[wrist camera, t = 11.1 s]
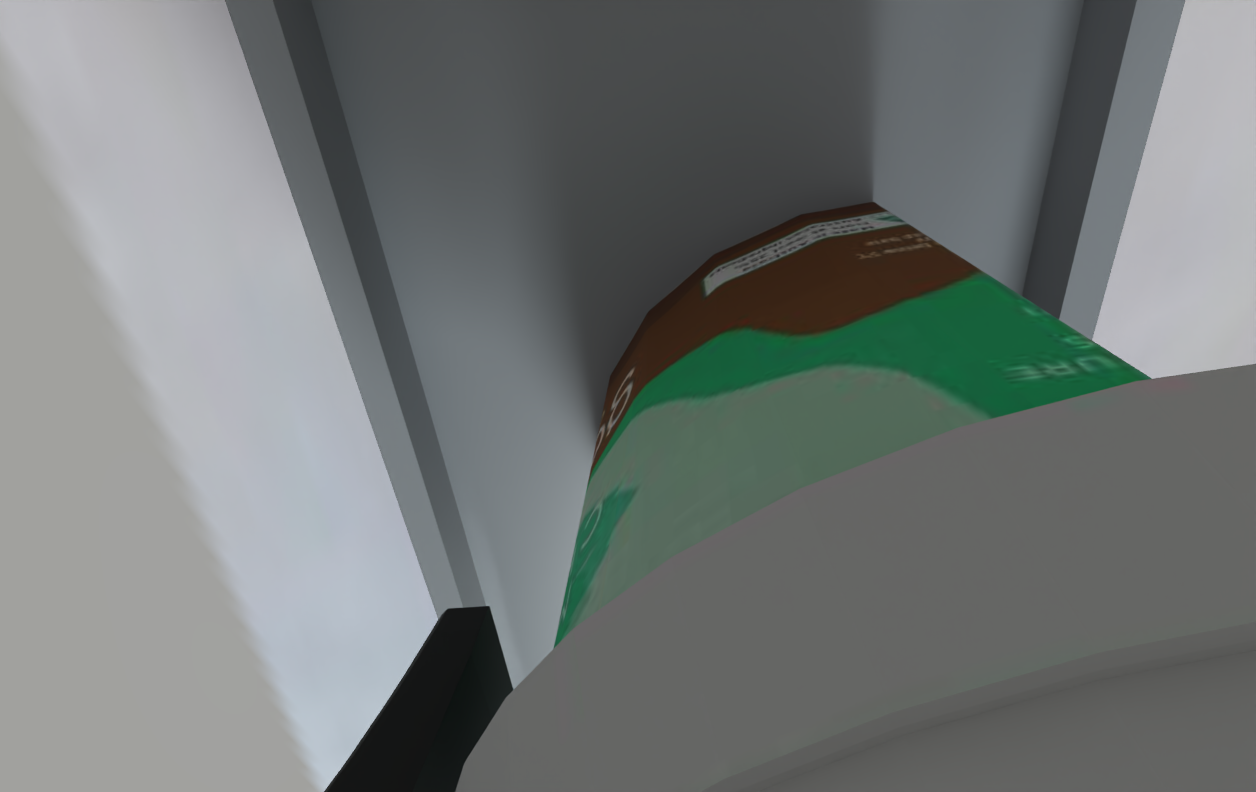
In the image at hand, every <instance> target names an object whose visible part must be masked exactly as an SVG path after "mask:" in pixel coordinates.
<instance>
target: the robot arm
mask: <svg viewBox="0 0 1256 792" xmlns="http://www.w3.org/2000/svg"><path fill="white" fill-rule="evenodd" d="M512 691H513V686H512V683H511V679H510V676H509V672H508V669H507V665H506V662H505V658H504V655H503V651H502V648H501V644H500V641H499V637H498V634H497V630H496V627H495V623H494V620H493V616H492V613H491V609H490V606H479V607H464V608H448V609H447V610H446V611H445V612H444V613H443V614H442V615H441V616H440V618H439V620H438V621H437V623H436V625H435V626H434V628H433V630H432V631H431V633H430V634H429V636H428V638H427V639H426V641H425V643H424V644H423V646H422V648H421V649H420V651H419V652H418V654H417V656H416V657H415V659H414V660H413V662H412V664H411V665H410V667H409V668H408V670H407V672H406V673H405V675H404V676H403V678H402V679H401V681H400V682H399V684H398V686H397V687H396V689H395V690H394V692H393V693H392V695H391V696H390V698H389V700H388V701H387V703H386V704H385V706H384V707H383V709H382V710H381V711H380V713H379V714H378V716H377V717H376V719H375V720H374V722H373V723H372V725H371V726H370V728H369V729H368V731H367V732H366V734H365V735H364V737H363V738H362V739H361V741H360V742H359V744H358V745H357V747H356V748H355V750H354V751H353V753H352V754H351V756H350V757H349V758H348V760H347V761H346V763H345V764H344V765H343V767H342V768H341V770H340V771H339V772H338V774H337V775H336V776H335V778H334V779H333V780H332V782H331V783H330V785H329V786H328V787H327V789H326V790H325V791H324V792H455V791H456V788H457V785H458V781H459V778H460V775H461V772H462V769H463V766H464V763H465V761H466V760H467V758H468V756H469V755H470V753H471V752H472V750H473V749H474V747H475V745H476V744H477V742H478V741H479V739H480V738H481V736H482V734H483V733H484V731H485V730H486V728H487V727H488V725H489V723H490V722H491V720H492V719H493V717H494V716H495V714H496V712H497V711H498V709H499V708H500V706H501V705H502V703H503V701H504V700H505V698H506V697H507V696H508V695H509V694H510V693H511V692H512Z"/></svg>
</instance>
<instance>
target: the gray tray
mask: <svg viewBox="0 0 1256 792" xmlns="http://www.w3.org/2000/svg"><path fill="white" fill-rule="evenodd" d="M225 2H226V4H227V7H228V10H229V13H230V16H231V19H232V22H233V25H234V28H235V31H236V33H237V36H238V39H239V42H240V45H241V48H242V51H243V54H244V57H245V60H246V62H247V65H248V68H249V71H250V74H251V77H252V80H253V83H254V86H255V89H256V91H257V94H258V97H259V100H260V103H261V106H262V109H263V112H264V115H265V118H266V121H267V123H268V126H269V129H270V132H271V135H272V138H273V141H274V144H275V147H276V150H277V152H278V155H279V158H280V161H281V164H282V167H283V170H284V173H285V176H286V179H287V181H288V184H289V187H290V190H291V193H292V196H293V199H294V202H295V205H296V208H297V211H298V213H299V216H300V219H301V222H302V225H303V228H304V231H305V234H306V237H307V240H308V242H309V245H310V248H311V251H312V254H313V257H314V260H315V263H316V266H317V269H318V271H319V274H320V277H321V280H322V283H323V286H324V289H325V292H326V295H327V298H328V300H329V303H330V306H331V309H332V312H333V315H334V318H335V321H336V324H337V327H338V330H339V332H340V335H341V338H342V341H343V344H344V347H345V350H346V353H347V356H348V359H349V361H350V364H351V367H352V370H353V373H354V376H355V379H356V382H357V385H358V388H359V390H360V393H361V396H362V399H363V402H364V405H365V408H366V411H367V414H368V417H369V419H370V422H371V425H372V428H373V431H374V434H375V437H376V440H377V443H378V446H379V449H380V451H381V454H382V457H383V460H384V463H385V466H386V469H387V472H388V475H389V478H390V480H391V483H392V486H393V489H394V492H395V495H396V498H397V501H398V504H399V507H400V509H401V512H402V515H403V518H404V521H405V524H406V527H407V530H408V533H409V536H410V539H411V541H412V544H413V547H414V550H415V553H416V556H417V559H418V562H419V565H420V568H421V570H422V573H423V576H424V579H425V582H426V585H427V588H428V591H429V594H430V597H431V599H432V602H433V605H434V608H435V611H436V614H437V617H438V620H439V618H440V616H441V615H442V614H443V613H444V612H445V611H446V610H447V609H448V608H464V607H479V606H490V609H491V613H492V616H493V620H494V623H495V627H496V630H497V634H498V637H499V641H500V644H501V648H502V651H503V655H504V658H505V662H506V665H507V669H508V672H509V676H510V679H511V683H512V686H513V690H514V689H515V688H516V687H517V686H518V685H519V684H520V683H521V682H522V681H523V680H524V679H525V678H526V677H527V676H528V675H529V673H530V672H531V671H532V670H533V669H534V668H535V667H536V666H537V665H538V664H539V663H540V662H541V661H542V660H543V659H544V658H545V657H546V656H547V655H548V654H549V653H550V652H551V651H552V650H553V649H554V644H555V639H556V634H557V629H558V625H559V620H560V615H561V610H562V605H563V600H564V596H565V591H566V586H567V581H568V576H569V571H570V567H571V562H572V557H573V552H574V547H575V543H576V538H577V533H578V528H579V523H580V518H581V514H582V509H583V504H584V499H585V494H586V490H587V485H588V480H589V475H590V470H591V465H592V461H593V456H594V451H595V446H596V441H597V436H598V432H599V427H600V422H601V417H602V412H603V408H604V403H605V398H606V393H607V388H608V383H609V379H610V375H611V373H612V372H613V370H614V368H615V367H616V365H617V363H618V362H619V360H620V358H621V357H622V355H623V353H624V352H625V350H626V348H627V346H628V345H629V343H630V341H631V340H632V338H633V336H634V335H635V333H636V331H637V330H638V328H639V326H640V324H641V323H642V321H643V319H644V318H645V316H646V314H647V313H648V311H649V310H650V309H652V308H653V307H654V306H655V305H656V304H657V303H658V302H660V301H661V300H662V299H663V298H664V297H665V296H667V295H668V294H669V293H670V292H671V291H672V290H673V289H675V288H676V287H677V286H678V285H679V284H680V283H681V282H683V281H684V280H685V279H686V278H687V277H688V276H689V275H691V274H692V273H693V272H694V271H695V270H696V269H697V268H699V267H700V266H701V265H702V264H703V263H704V262H706V261H707V260H708V259H709V258H710V257H711V256H712V255H714V254H715V253H718V252H720V251H722V250H724V249H726V248H729V247H731V246H733V245H735V244H737V243H740V242H742V241H744V240H746V239H748V238H750V237H753V236H755V235H757V234H759V233H761V232H764V231H766V230H768V229H770V228H772V227H774V226H777V225H779V224H781V223H783V222H785V221H788V220H790V219H792V218H794V217H796V216H798V215H801V214H806V213H811V212H817V211H823V210H828V209H834V208H840V207H845V206H851V205H856V204H862V203H868V202H875V203H877V204H878V205H880V206H881V207H883V208H884V209H886V210H888V211H889V212H891V213H892V214H894V215H895V216H897V217H899V218H900V219H902V220H903V221H905V222H906V223H908V224H910V225H911V226H913V227H914V228H916V229H917V230H919V231H921V232H922V233H924V234H925V235H927V236H928V237H930V238H932V239H933V240H935V241H936V242H938V243H939V244H941V245H943V246H944V247H946V248H947V249H949V250H950V251H952V252H954V253H955V254H957V255H958V256H960V257H961V258H963V259H965V260H966V261H968V262H969V263H971V264H972V265H974V266H976V267H977V268H979V269H980V270H982V271H983V272H985V273H987V274H988V275H990V276H991V277H993V278H994V279H996V280H998V281H999V282H1001V283H1002V284H1004V285H1005V286H1007V287H1009V288H1010V289H1012V290H1013V291H1015V292H1016V293H1018V294H1020V295H1021V296H1023V297H1024V298H1026V299H1027V300H1029V301H1030V302H1032V303H1034V304H1035V305H1037V306H1038V307H1040V308H1041V309H1043V310H1045V311H1046V312H1048V313H1049V314H1051V315H1052V316H1054V317H1056V318H1057V319H1059V320H1060V321H1062V322H1063V323H1065V324H1067V325H1068V326H1070V327H1071V328H1073V329H1074V330H1076V331H1078V332H1079V333H1081V334H1082V335H1084V336H1085V337H1087V338H1089V339H1090V340H1092V338H1093V334H1094V330H1095V327H1096V323H1097V320H1098V316H1099V312H1100V309H1101V305H1102V301H1103V298H1104V294H1105V290H1106V287H1107V283H1108V279H1109V276H1110V272H1111V269H1112V265H1113V261H1114V258H1115V254H1116V250H1117V247H1118V243H1119V239H1120V236H1121V232H1122V229H1123V225H1124V221H1125V218H1126V214H1127V210H1128V207H1129V203H1130V199H1131V196H1132V192H1133V189H1134V185H1135V181H1136V178H1137V174H1138V170H1139V167H1140V163H1141V159H1142V156H1143V152H1144V149H1145V145H1146V141H1147V138H1148V134H1149V130H1150V127H1151V123H1152V119H1153V116H1154V112H1155V109H1156V105H1157V101H1158V98H1159V94H1160V90H1161V87H1162V83H1163V79H1164V76H1165V72H1166V69H1167V65H1168V61H1169V58H1170V54H1171V50H1172V47H1173V43H1174V39H1175V36H1176V32H1177V28H1178V25H1179V21H1180V18H1181V14H1182V10H1183V7H1184V3H1185V0H225Z"/></svg>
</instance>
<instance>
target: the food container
mask: <svg viewBox="0 0 1256 792" xmlns="http://www.w3.org/2000/svg"><path fill="white" fill-rule="evenodd" d="M455 792H1256V364H1252V365H1245V366H1238V367H1231V368H1224V369H1217V370H1211V371H1204V372H1197V373H1190V374H1183V375H1176V376H1169V377H1162V378H1155V379H1151V378H1150V377H1148V376H1147V375H1145V374H1144V373H1142V372H1140V371H1139V370H1137V369H1136V368H1134V367H1133V366H1131V365H1129V364H1128V363H1126V362H1125V361H1123V360H1122V359H1120V358H1118V357H1117V356H1115V355H1114V354H1112V353H1111V352H1109V351H1107V350H1106V349H1104V348H1103V347H1101V346H1100V345H1098V344H1096V343H1095V342H1093V341H1092V340H1090V339H1089V338H1087V337H1085V336H1084V335H1082V334H1081V333H1079V332H1078V331H1076V330H1074V329H1073V328H1071V327H1070V326H1068V325H1067V324H1065V323H1063V322H1062V321H1060V320H1059V319H1057V318H1056V317H1054V316H1052V315H1051V314H1049V313H1048V312H1046V311H1045V310H1043V309H1041V308H1040V307H1038V306H1037V305H1035V304H1034V303H1032V302H1030V301H1029V300H1027V299H1026V298H1024V297H1023V296H1021V295H1020V294H1018V293H1016V292H1015V291H1013V290H1012V289H1010V288H1009V287H1007V286H1005V285H1004V284H1002V283H1001V282H999V281H998V280H996V279H994V278H993V277H991V276H990V275H988V274H987V273H985V272H983V271H982V270H980V269H979V268H977V267H976V266H974V265H972V264H971V263H969V262H968V261H966V260H965V259H963V258H961V257H960V256H958V255H957V254H955V253H954V252H952V251H950V250H949V249H947V248H946V247H944V246H943V245H941V244H939V243H938V242H936V241H935V240H933V239H932V238H930V237H928V236H927V235H925V234H924V233H922V232H921V231H919V230H917V229H916V228H914V227H913V226H911V225H910V224H908V223H906V222H905V221H903V220H902V219H900V218H899V217H897V216H895V215H894V214H892V213H891V212H889V211H888V210H886V209H884V208H883V207H881V206H880V205H878V204H877V203H875V202H868V203H862V204H856V205H851V206H845V207H840V208H834V209H828V210H823V211H817V212H811V213H806V214H801V215H798V216H796V217H794V218H792V219H790V220H788V221H785V222H783V223H781V224H779V225H777V226H774V227H772V228H770V229H768V230H766V231H764V232H761V233H759V234H757V235H755V236H753V237H750V238H748V239H746V240H744V241H742V242H740V243H737V244H735V245H733V246H731V247H729V248H726V249H724V250H722V251H720V252H718V253H715V254H714V255H712V256H711V257H710V258H709V259H708V260H707V261H706V262H704V263H703V264H702V265H701V266H700V267H699V268H697V269H696V270H695V271H694V272H693V273H692V274H691V275H689V276H688V277H687V278H686V279H685V280H684V281H683V282H681V283H680V284H679V285H678V286H677V287H676V288H675V289H673V290H672V291H671V292H670V293H669V294H668V295H667V296H665V297H664V298H663V299H662V300H661V301H660V302H658V303H657V304H656V305H655V306H654V307H653V308H652V309H650V310H649V311H648V313H647V314H646V316H645V318H644V319H643V321H642V323H641V324H640V326H639V328H638V330H637V331H636V333H635V335H634V336H633V338H632V340H631V341H630V343H629V345H628V346H627V348H626V350H625V352H624V353H623V355H622V357H621V358H620V360H619V362H618V363H617V365H616V367H615V368H614V370H613V372H612V373H611V375H610V379H609V383H608V388H607V393H606V398H605V403H604V408H603V412H602V417H601V422H600V427H599V432H598V436H597V441H596V446H595V451H594V456H593V461H592V465H591V470H590V475H589V480H588V485H587V490H586V494H585V499H584V504H583V509H582V514H581V518H580V523H579V528H578V533H577V538H576V543H575V547H574V552H573V557H572V562H571V567H570V571H569V576H568V581H567V586H566V591H565V596H564V600H563V605H562V610H561V615H560V620H559V625H558V629H557V634H556V639H555V644H554V649H553V650H552V651H551V652H550V653H549V654H548V655H547V656H546V657H545V658H544V659H543V660H542V661H541V662H540V663H539V664H538V665H537V666H536V667H535V668H534V669H533V670H532V671H531V672H530V673H529V675H528V676H527V677H526V678H525V679H524V680H523V681H522V682H521V683H520V684H519V685H518V686H517V687H516V688H515V689H514V690H513V691H512V692H511V693H510V694H509V695H508V696H507V697H506V698H505V700H504V701H503V703H502V705H501V706H500V708H499V709H498V711H497V712H496V714H495V716H494V717H493V719H492V720H491V722H490V723H489V725H488V727H487V728H486V730H485V731H484V733H483V734H482V736H481V738H480V739H479V741H478V742H477V744H476V745H475V747H474V749H473V750H472V752H471V753H470V755H469V756H468V758H467V760H466V761H465V763H464V766H463V769H462V772H461V775H460V778H459V781H458V785H457V788H456V791H455Z"/></svg>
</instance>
